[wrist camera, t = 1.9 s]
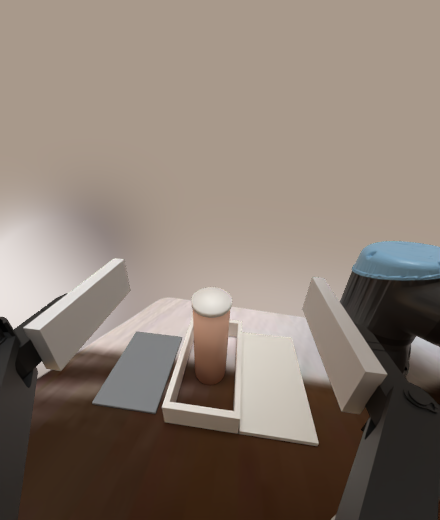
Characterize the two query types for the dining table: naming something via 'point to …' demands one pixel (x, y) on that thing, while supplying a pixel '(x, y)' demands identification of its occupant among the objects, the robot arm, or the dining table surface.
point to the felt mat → (140, 373)
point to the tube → (210, 333)
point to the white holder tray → (251, 391)
